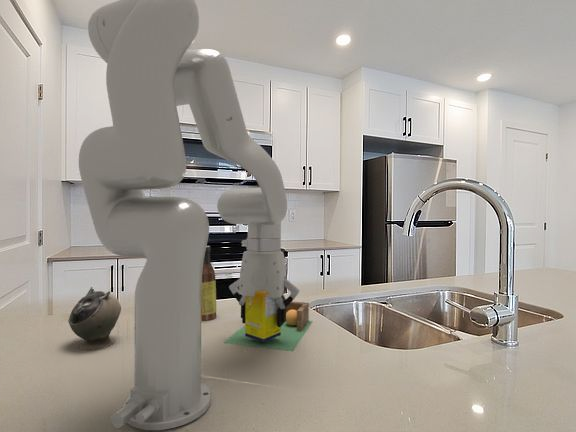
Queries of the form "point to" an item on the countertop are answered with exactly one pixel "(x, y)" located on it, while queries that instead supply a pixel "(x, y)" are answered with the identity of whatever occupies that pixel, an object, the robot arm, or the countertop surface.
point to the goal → (300, 313)
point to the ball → (291, 317)
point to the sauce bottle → (208, 289)
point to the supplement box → (261, 317)
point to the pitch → (282, 342)
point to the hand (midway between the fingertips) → (263, 323)
